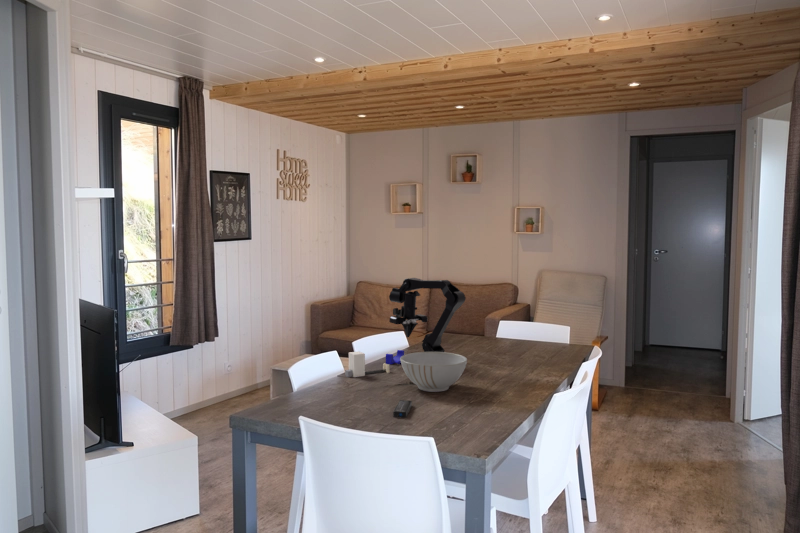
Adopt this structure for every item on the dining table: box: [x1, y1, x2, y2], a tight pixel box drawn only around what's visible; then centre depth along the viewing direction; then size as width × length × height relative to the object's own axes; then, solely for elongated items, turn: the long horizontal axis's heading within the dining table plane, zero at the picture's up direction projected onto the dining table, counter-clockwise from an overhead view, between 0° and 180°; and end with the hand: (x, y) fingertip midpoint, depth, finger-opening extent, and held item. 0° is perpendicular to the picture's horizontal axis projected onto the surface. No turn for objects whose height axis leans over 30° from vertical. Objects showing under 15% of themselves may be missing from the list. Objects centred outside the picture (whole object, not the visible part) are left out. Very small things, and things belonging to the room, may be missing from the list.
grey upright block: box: [348, 350, 366, 378], centre depth 259 cm, size 5×6×10 cm
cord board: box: [344, 362, 391, 378], centre depth 262 cm, size 20×10×5 cm, turn 119°
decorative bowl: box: [400, 351, 468, 393], centre depth 244 cm, size 27×27×12 cm
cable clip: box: [385, 349, 405, 365], centre depth 287 cm, size 12×4×6 cm, turn 150°
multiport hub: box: [392, 399, 413, 419], centre depth 212 cm, size 4×14×2 cm, turn 171°
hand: (407, 337), depth 286 cm, fingers closed
